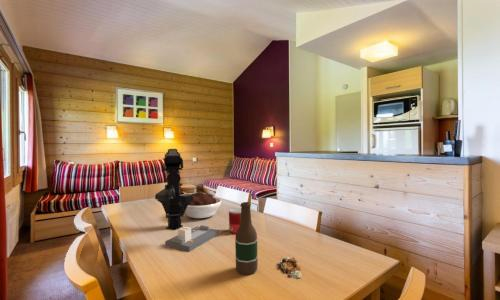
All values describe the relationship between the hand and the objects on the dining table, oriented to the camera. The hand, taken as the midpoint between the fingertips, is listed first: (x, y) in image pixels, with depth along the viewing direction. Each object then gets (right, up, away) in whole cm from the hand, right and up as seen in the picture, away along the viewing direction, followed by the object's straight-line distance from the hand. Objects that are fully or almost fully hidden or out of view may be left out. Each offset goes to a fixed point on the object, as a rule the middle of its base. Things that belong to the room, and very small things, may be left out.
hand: (174, 215), depth 117 cm
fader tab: (+6, -10, -4) cm, 12 cm away
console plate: (+9, -12, +2) cm, 15 cm away
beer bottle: (+34, -12, -28) cm, 46 cm away
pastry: (+50, -13, -28) cm, 59 cm away
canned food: (+29, -12, +11) cm, 33 cm away
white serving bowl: (+5, -11, +40) cm, 41 cm away
